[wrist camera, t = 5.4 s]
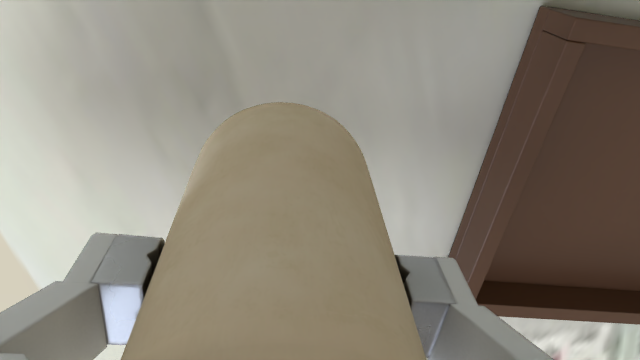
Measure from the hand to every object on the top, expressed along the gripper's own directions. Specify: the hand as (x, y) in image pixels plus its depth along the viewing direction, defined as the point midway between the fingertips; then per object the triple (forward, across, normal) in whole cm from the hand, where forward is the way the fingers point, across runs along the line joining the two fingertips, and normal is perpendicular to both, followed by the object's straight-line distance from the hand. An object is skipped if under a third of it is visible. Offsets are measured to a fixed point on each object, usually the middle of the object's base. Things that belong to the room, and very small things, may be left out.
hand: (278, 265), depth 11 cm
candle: (+4, 0, 0) cm, 4 cm away
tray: (+10, -19, +2) cm, 21 cm away
